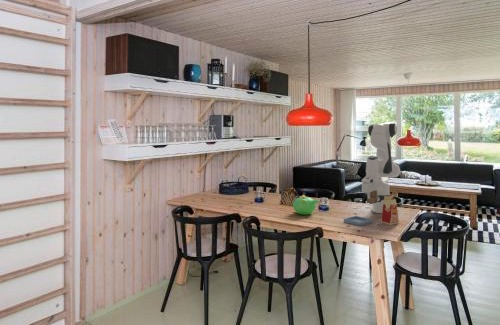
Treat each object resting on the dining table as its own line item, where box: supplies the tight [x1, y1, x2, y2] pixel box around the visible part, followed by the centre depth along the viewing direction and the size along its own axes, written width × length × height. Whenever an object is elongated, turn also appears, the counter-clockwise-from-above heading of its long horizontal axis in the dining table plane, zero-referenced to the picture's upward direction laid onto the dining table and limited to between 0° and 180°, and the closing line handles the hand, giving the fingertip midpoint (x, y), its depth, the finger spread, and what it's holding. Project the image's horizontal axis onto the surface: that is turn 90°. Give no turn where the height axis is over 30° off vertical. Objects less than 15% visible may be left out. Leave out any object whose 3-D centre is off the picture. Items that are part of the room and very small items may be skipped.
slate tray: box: [343, 215, 373, 227], centre depth 258 cm, size 14×14×2 cm
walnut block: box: [366, 190, 377, 205], centre depth 263 cm, size 5×5×9 cm
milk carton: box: [381, 194, 400, 226], centre depth 256 cm, size 9×9×20 cm
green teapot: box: [292, 194, 320, 215], centre depth 283 cm, size 18×17×15 cm
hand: (372, 197), depth 263 cm, fingers closed on walnut block, 5 cm apart
